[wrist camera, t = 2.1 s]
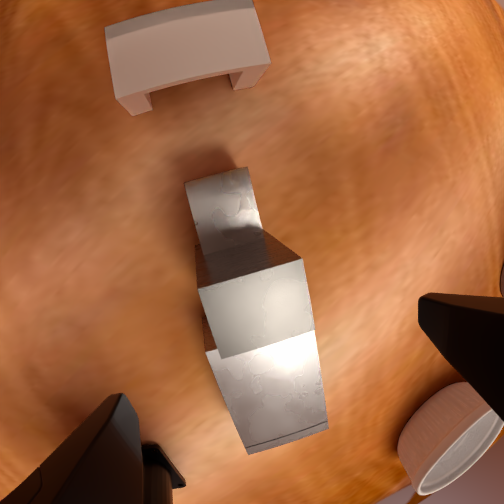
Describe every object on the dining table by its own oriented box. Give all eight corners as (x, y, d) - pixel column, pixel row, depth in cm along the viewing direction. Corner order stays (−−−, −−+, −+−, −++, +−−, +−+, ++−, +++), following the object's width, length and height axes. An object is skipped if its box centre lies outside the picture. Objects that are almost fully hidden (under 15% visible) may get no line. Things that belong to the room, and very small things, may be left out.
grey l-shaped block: (297, 390, 21) (333, 458, 14) (247, 406, 21) (269, 480, 14) (245, 166, 17) (281, 160, 10) (178, 184, 16) (168, 188, 10)
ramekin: (482, 392, 29) (514, 419, 22) (413, 465, 29) (438, 497, 23) (457, 353, 25) (502, 386, 18) (366, 447, 26) (397, 493, 19)
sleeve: (309, 394, 22) (328, 428, 18) (238, 416, 21) (248, 454, 17) (289, 292, 19) (312, 319, 15) (201, 318, 19) (205, 352, 15)
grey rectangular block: (253, 86, 16) (271, 63, 12) (132, 116, 15) (115, 99, 11) (237, 29, 15) (250, -4, 11) (121, 56, 14) (104, 27, 10)
